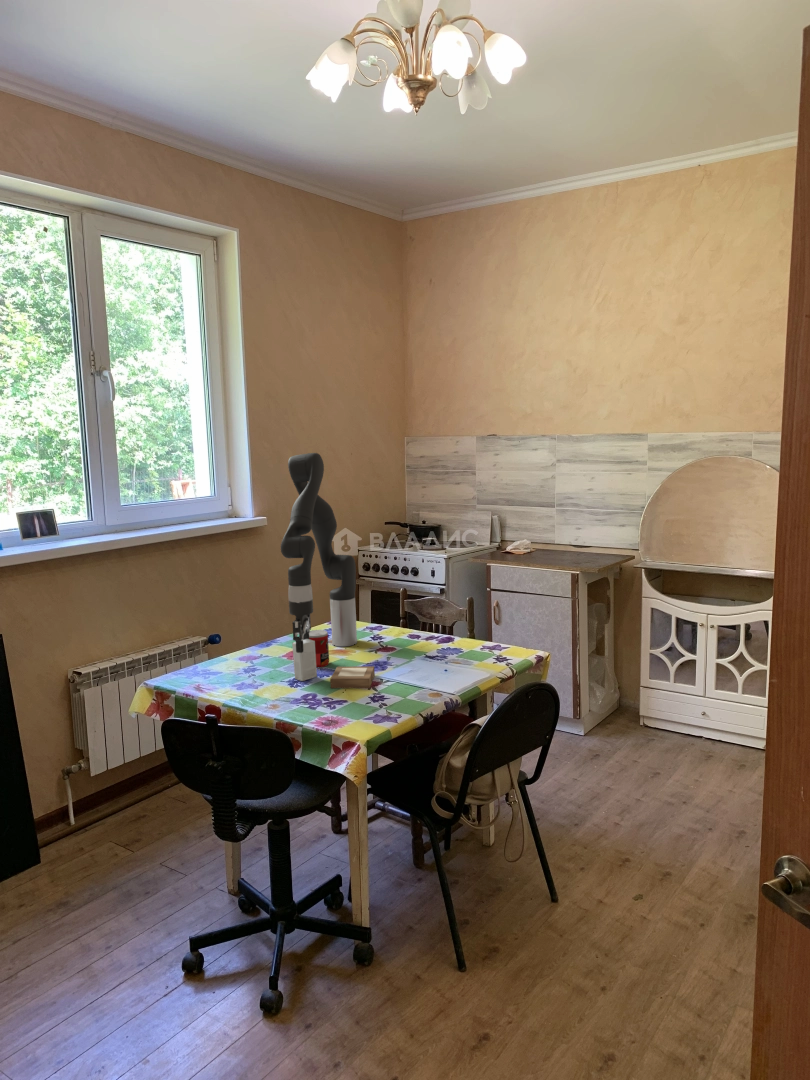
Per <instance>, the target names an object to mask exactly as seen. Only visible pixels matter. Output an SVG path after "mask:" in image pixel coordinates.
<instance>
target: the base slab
mask: <svg viewBox="0 0 810 1080" xmlns="http://www.w3.org/2000/svg"><path fill="white" fill-rule="evenodd" d="M375 675H376V673H375V666H374V665H373V666H372V665H368V666H367V665H366V666H365V665H364V666H357V665H356V666H336V668H335V670H334V672H333V674H332V675H331V677H330V678H329V680H330V681H329V682H330V689H370V688H371V686H372V683H373V681H374V677H375Z"/></svg>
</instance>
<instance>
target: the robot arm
mask: <svg viewBox="0 0 810 1080" xmlns="http://www.w3.org/2000/svg"><path fill="white" fill-rule="evenodd" d="M287 466H288V467H287V468H288V472H289V475H290V477H291V478H290V479H291V480H292V482H293V485H294V487H295V489H296V492H297V493H298V497H296V499H295V501H294V503H293V505H292V507H291V511H290V512H291V513H290V519H289V525H288V527H287V529H286V532H284V536H283V538H282V540H281V543H280V552H281V555H282V556H283V557H284V558H286V559H303V560H302V562H301V563H299V564H295V565H292V566H289V568H288V569H287V577H288V578H287V579H288V590H287V591H288V592H287V593H288V594H287V596H288V597H287V598H288V612H289V614H290V615H291V616H295V619H294V620H293V621H292V641H294V642H296V652H297V653H302V652H303V651H304V649H303V640H305V639H309V634H308V633H310V631H312V630H311V629H312V626H311V625H312V624H311V614H312V613H313V612H314V603H313V601H314V599H313V587H312V578H311V577H312V574H311V572H312V569H311V568H312V562H313V559H314V554H315V550H316V546H317V549H318V554H319V558H320V562H321V566H322V570H323V572H324V575H325V577H326V578H328V579H330V580H336V581H341V585H340V586H338V587H336V588H333V589H331V590H330V591H329V607H330V609H329V610H330V625H331V644H332V646H334V645H335V647H349V646H355V645H357V643H358V637H357V634H358V632H357V630H358V629H357V614H356V613H357V612H356V588H357V587H356V586H357V585H356V584H357V581H356V580H357V578H356V577H357V575H356V574H357V573H356V572H357V570H356V569H357V566H356V560H355V558H354V557H353V556H352V555H349V554H336V553H335V552H334V549H333V545H332V544H333V540H334V537H335V535H336V532H337V526H338V524H337V520H336V516H335V513H334V510H333V508H332V507H331V505H330V504H329V503H328V502H327V501H326V500H325V499H324V498H322V497H321V496H320V495H319V491H320V487H321V485H322V481H323V477H324V471H325V466H324V460H323V457H322V456H321V455H320V454H319V453H317V452H310V453H301V454H296V455H292V456H290V457H289V459H288V462H287ZM310 532H312V534H313V536H314V538H313V537H312V536H310V535H307V534H309V533H310ZM354 644H355V645H354Z"/></svg>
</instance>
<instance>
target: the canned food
mask: <svg viewBox="0 0 810 1080" xmlns="http://www.w3.org/2000/svg"><path fill="white" fill-rule="evenodd" d="M308 634H309V639H310V640H313V641H315V654H316V667H319V668H325V667H326V666H328V665H329V663H330V652H329V651H330V650H329V648H330V647H329V634H328V631H327V630H322V629H315V630H313V629H312V630H310V633H308Z"/></svg>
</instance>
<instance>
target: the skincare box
mask: <svg viewBox="0 0 810 1080" xmlns="http://www.w3.org/2000/svg"><path fill="white" fill-rule="evenodd" d="M303 649H304V651H303V652H302V653H297V652H296V641H294V642H292V655H293V668H294V669H293V670H294V679H295V680H298V681H300V682H305V681H307V680H310V679H314V678H317V677H318V672H317V669H318V668H316V654H315V641H313V640H310V639H305V640H303Z"/></svg>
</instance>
